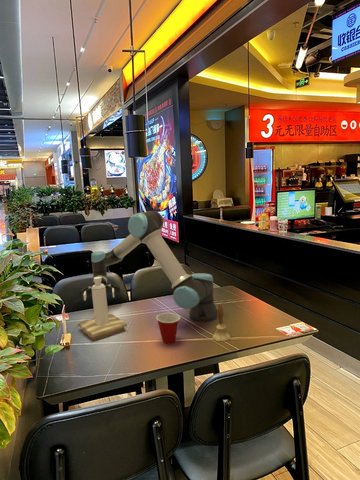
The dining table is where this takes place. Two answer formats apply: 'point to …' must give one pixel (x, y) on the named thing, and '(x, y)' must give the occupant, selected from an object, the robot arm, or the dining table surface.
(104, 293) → the spray bottle
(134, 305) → the dining table surface
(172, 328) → the plastic cup
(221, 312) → the hand bell
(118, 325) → the stand
